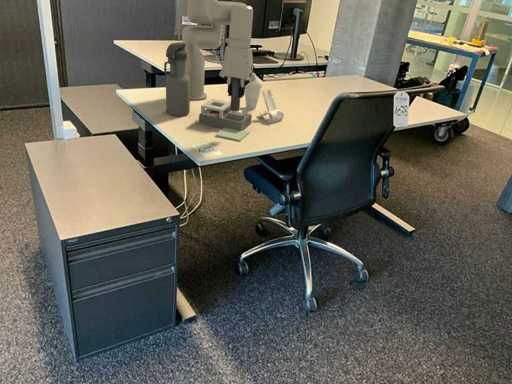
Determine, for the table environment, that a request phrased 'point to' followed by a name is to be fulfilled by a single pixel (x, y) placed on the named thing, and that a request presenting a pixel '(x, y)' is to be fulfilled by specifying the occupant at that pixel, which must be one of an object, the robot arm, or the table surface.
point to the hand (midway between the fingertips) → (235, 95)
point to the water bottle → (177, 81)
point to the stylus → (235, 94)
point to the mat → (232, 134)
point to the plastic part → (271, 108)
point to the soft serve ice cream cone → (252, 92)
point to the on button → (238, 112)
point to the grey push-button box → (223, 116)
